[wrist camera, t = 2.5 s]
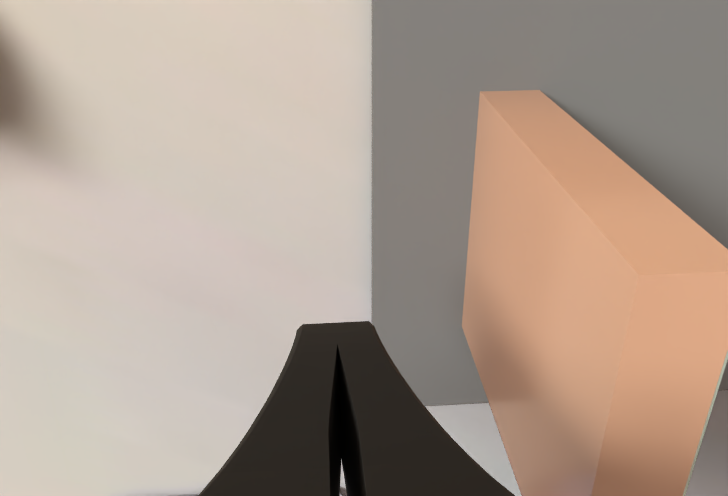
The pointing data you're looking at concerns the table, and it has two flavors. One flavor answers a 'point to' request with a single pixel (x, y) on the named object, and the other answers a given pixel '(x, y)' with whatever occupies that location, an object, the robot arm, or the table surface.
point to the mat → (566, 89)
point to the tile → (588, 308)
